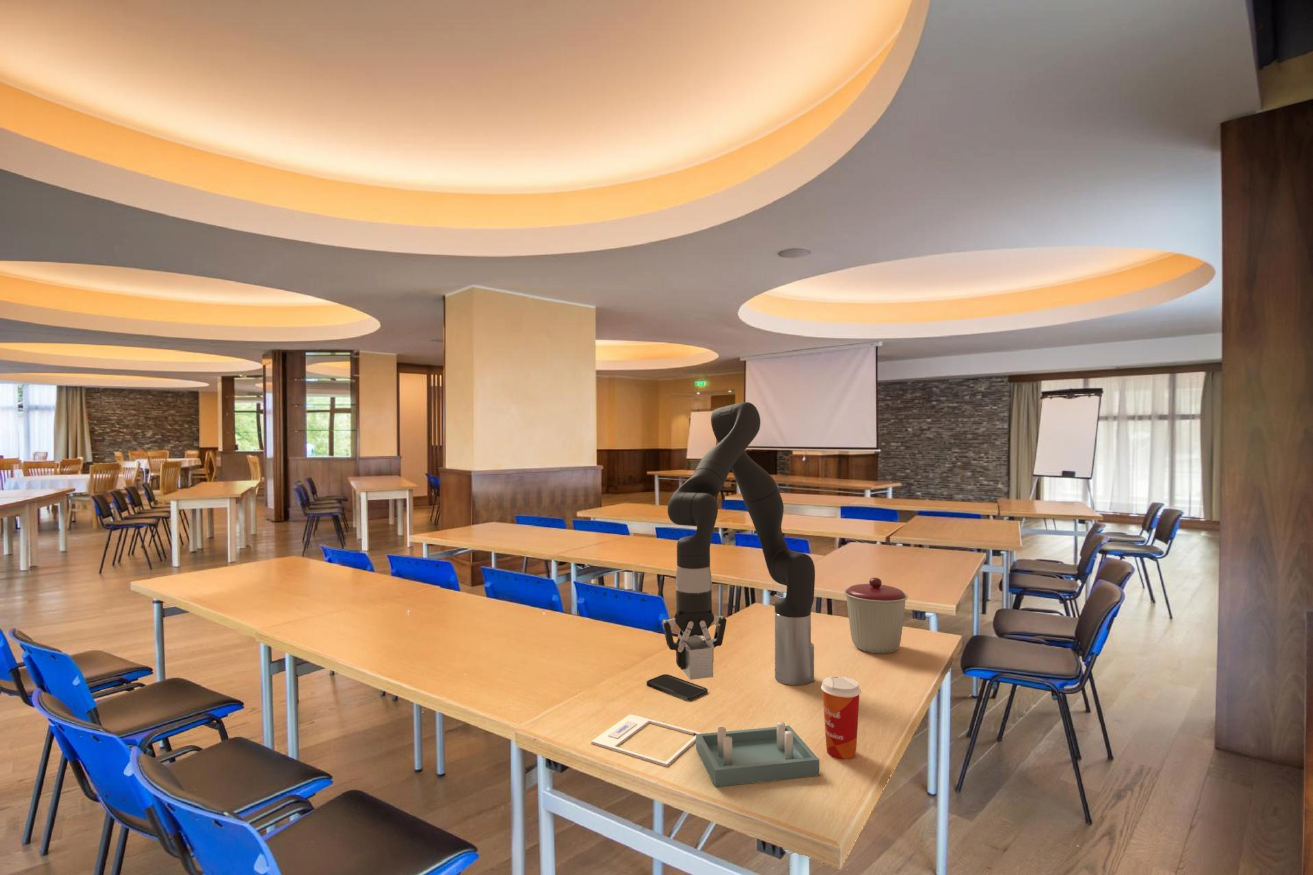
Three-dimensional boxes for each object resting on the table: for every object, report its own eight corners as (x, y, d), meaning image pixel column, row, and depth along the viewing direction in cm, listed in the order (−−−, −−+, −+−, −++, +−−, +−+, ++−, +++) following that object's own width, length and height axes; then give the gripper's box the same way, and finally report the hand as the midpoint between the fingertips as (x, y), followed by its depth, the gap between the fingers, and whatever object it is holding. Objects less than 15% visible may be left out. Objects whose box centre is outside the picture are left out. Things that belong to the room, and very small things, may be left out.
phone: (665, 673, 165) (709, 688, 154) (665, 677, 165) (709, 693, 154) (644, 681, 159) (688, 698, 148) (644, 686, 159) (688, 703, 148)
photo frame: (630, 713, 141) (701, 732, 131) (630, 718, 141) (701, 737, 131) (591, 740, 128) (667, 763, 119) (591, 745, 128) (667, 768, 119)
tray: (789, 739, 129) (789, 710, 129) (819, 775, 116) (819, 743, 116) (696, 749, 126) (695, 719, 126) (715, 786, 112) (715, 753, 112)
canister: (855, 634, 199) (855, 569, 199) (914, 645, 188) (914, 576, 189) (835, 650, 184) (835, 579, 184) (898, 663, 174) (898, 587, 174)
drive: (677, 664, 135) (677, 635, 135) (699, 661, 137) (699, 633, 137) (690, 679, 127) (689, 649, 127) (713, 676, 128) (712, 646, 128)
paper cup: (815, 744, 128) (815, 675, 128) (852, 742, 128) (851, 674, 128) (829, 763, 120) (829, 691, 120) (868, 762, 120) (868, 689, 120)
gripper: (721, 580, 137) (722, 658, 137) (657, 584, 134) (658, 663, 134) (731, 589, 129) (732, 670, 129) (664, 593, 127) (665, 676, 127)
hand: (694, 666), depth 132 cm, fingers closed on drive, 5 cm apart
